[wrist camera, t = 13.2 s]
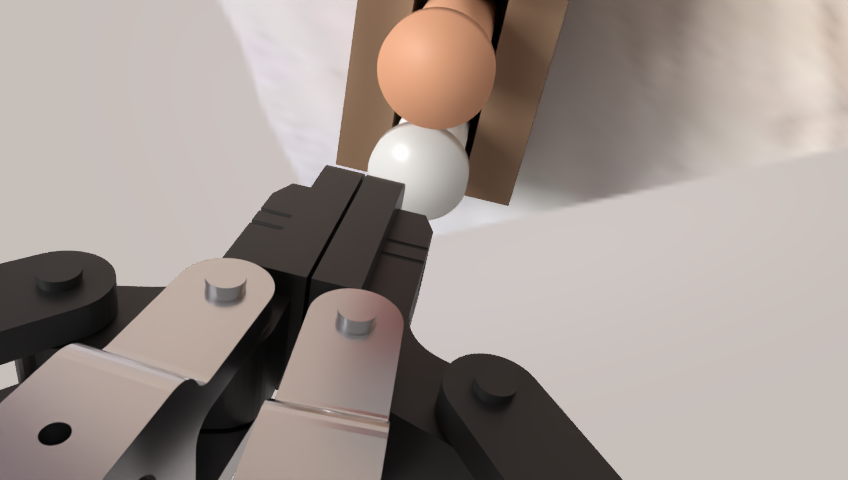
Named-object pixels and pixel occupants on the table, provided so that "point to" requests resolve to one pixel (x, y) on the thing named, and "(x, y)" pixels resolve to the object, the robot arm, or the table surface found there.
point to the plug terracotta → (440, 63)
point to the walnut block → (498, 120)
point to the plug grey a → (424, 166)
